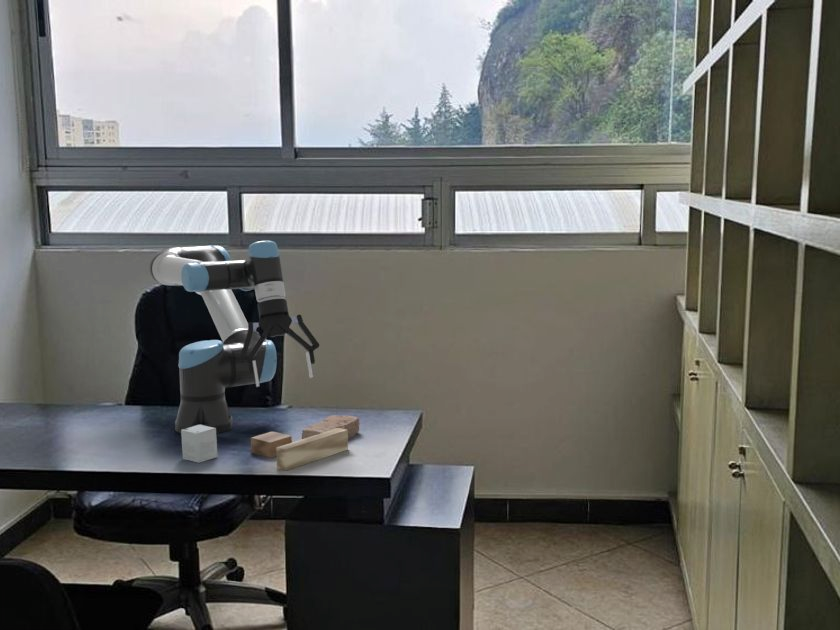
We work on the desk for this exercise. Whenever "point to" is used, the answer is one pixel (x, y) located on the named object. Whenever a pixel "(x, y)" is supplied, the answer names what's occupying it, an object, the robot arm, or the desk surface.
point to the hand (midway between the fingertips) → (284, 382)
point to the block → (269, 443)
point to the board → (311, 449)
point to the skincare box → (199, 443)
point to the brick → (333, 426)
